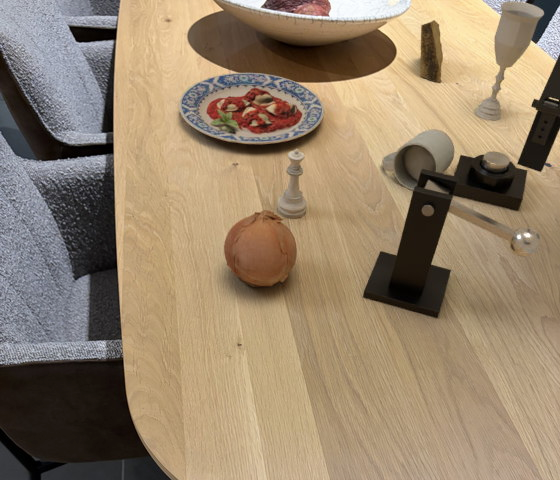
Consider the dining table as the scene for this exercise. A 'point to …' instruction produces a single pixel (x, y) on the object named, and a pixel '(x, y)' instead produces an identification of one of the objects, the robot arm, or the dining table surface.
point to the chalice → (509, 47)
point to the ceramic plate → (251, 108)
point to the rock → (431, 51)
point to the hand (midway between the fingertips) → (547, 141)
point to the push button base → (490, 183)
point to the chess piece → (293, 189)
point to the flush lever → (494, 225)
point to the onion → (260, 249)
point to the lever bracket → (416, 253)
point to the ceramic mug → (420, 157)
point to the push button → (495, 162)
